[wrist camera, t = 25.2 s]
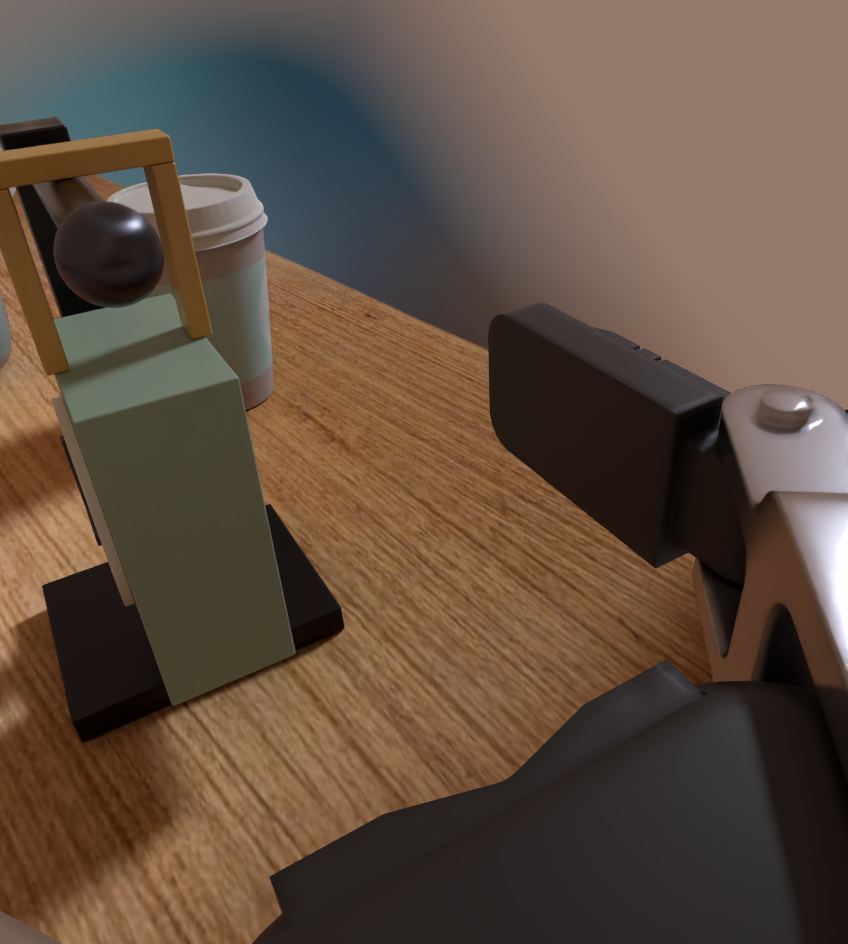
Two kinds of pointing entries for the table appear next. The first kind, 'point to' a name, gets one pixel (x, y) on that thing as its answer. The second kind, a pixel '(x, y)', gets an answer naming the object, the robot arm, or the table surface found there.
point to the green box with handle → (158, 436)
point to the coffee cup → (225, 270)
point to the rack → (94, 590)
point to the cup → (4, 334)
